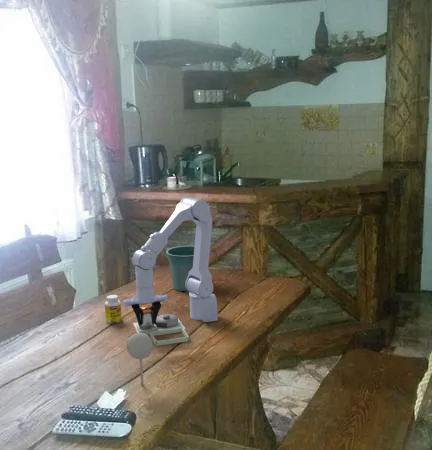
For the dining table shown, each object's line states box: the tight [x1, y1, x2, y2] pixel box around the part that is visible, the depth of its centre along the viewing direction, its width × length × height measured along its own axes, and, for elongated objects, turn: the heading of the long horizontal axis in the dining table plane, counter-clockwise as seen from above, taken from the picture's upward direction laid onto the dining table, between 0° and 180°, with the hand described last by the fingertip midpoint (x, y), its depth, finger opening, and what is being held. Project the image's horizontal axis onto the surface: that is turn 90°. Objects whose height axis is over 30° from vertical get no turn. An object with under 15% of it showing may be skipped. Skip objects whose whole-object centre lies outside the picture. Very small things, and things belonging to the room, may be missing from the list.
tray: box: [149, 327, 191, 347], centre depth 198 cm, size 11×9×2 cm
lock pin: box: [140, 305, 153, 330], centre depth 204 cm, size 5×5×8 cm
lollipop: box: [126, 332, 154, 386], centre depth 167 cm, size 7×7×15 cm
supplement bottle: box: [104, 294, 123, 325], centre depth 214 cm, size 6×6×10 cm
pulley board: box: [132, 313, 186, 335], centre depth 209 cm, size 16×12×4 cm
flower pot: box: [165, 245, 195, 293], centre depth 253 cm, size 16×16×16 cm
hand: (147, 324), depth 205 cm, fingers closed on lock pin, 4 cm apart
